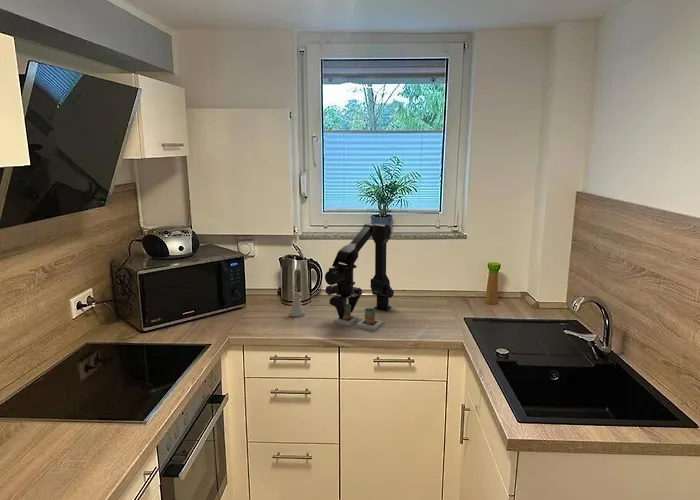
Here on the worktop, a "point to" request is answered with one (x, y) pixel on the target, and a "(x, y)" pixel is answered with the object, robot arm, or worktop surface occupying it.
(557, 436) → the worktop surface
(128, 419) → the worktop surface
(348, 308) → the sleeve
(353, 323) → the socket board
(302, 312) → the flask
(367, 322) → the seated sleeve
